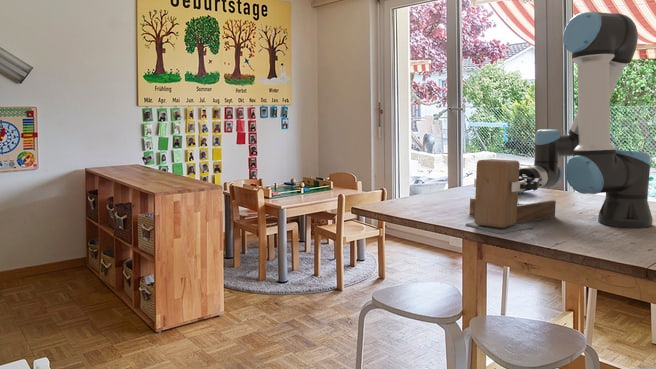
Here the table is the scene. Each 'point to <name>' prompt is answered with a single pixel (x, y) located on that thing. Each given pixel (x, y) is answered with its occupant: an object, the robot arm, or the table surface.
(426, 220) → the table surface
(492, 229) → the mat
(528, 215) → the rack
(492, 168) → the wooden block
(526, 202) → the offcut slab upper
